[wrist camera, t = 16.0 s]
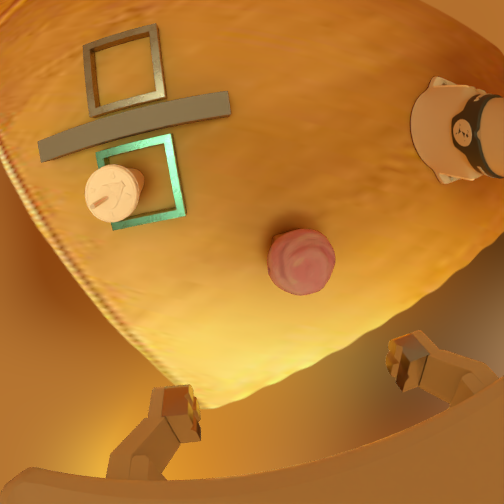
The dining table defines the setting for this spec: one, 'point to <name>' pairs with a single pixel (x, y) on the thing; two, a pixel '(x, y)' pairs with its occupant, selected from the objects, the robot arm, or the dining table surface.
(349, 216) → the dining table surface
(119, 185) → the smoothie
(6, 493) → the robot arm
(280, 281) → the cupcake
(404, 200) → the dining table surface
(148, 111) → the door edge
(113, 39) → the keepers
